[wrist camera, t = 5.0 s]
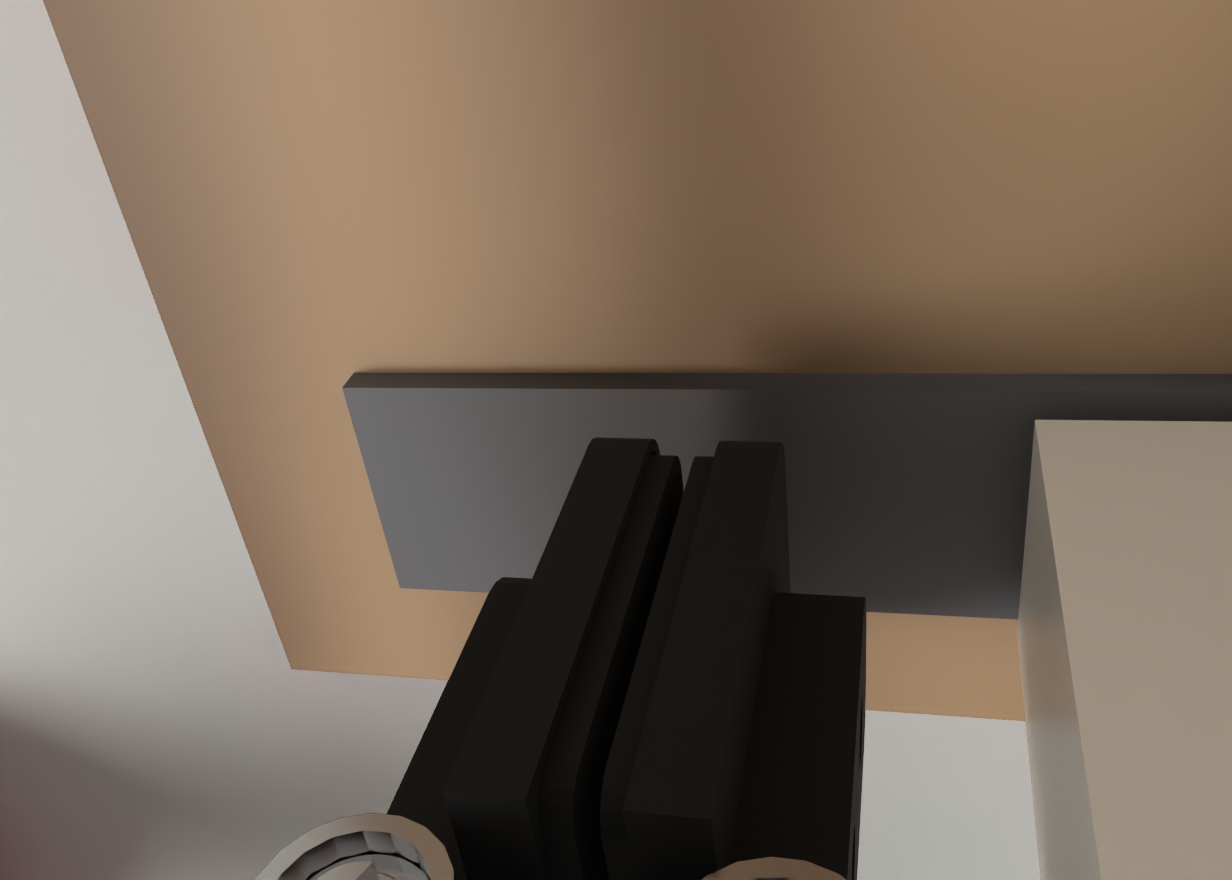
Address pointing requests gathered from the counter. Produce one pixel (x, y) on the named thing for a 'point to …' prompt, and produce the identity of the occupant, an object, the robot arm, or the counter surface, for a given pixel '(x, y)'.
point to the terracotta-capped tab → (1129, 648)
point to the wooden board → (666, 280)
